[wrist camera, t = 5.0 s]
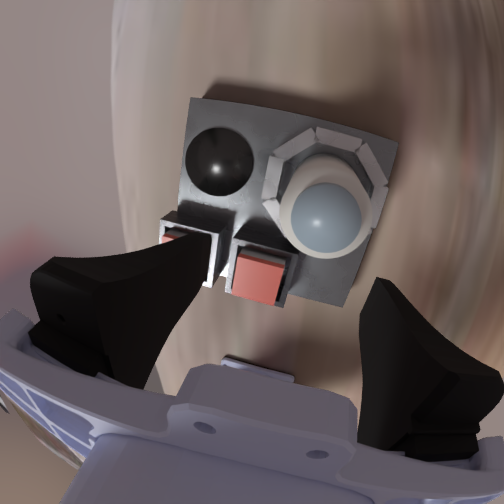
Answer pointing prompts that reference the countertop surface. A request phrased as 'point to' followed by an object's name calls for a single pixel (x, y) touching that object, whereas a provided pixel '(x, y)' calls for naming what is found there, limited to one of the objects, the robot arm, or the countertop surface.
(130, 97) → the countertop surface
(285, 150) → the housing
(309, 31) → the countertop surface
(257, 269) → the plunger
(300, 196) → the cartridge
